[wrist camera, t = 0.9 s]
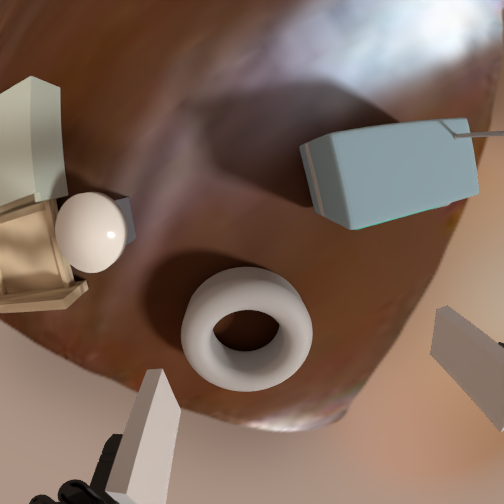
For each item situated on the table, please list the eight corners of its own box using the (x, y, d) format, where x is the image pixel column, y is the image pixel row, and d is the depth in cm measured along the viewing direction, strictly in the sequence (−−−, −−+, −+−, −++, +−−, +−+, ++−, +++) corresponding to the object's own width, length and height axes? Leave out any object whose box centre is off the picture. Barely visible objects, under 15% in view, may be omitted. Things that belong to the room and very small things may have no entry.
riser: (93, 204, 32) (69, 211, 26) (129, 197, 32) (108, 202, 26) (101, 244, 33) (79, 257, 27) (136, 238, 33) (118, 250, 28)
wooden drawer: (-16, 205, 30) (-42, 211, 24) (64, 174, 30) (35, 176, 24) (9, 303, 34) (-14, 319, 28) (90, 295, 35) (68, 316, 28)
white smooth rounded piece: (56, 200, 26) (49, 202, 24) (119, 184, 26) (113, 184, 24) (72, 272, 28) (65, 276, 26) (134, 262, 28) (129, 267, 26)
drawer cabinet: (-19, 131, 27) (-48, 129, 20) (60, 87, 27) (31, 75, 21) (-12, 221, 31) (-41, 230, 24) (68, 195, 31) (37, 201, 25)
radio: (314, 220, 34) (402, 277, 15) (296, 146, 32) (375, 113, 13) (421, 193, 34) (539, 219, 15) (408, 127, 32) (526, 110, 12)
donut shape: (165, 325, 37) (153, 353, 30) (236, 238, 34) (237, 253, 28) (252, 381, 40) (255, 413, 33) (325, 309, 37) (342, 334, 31)
